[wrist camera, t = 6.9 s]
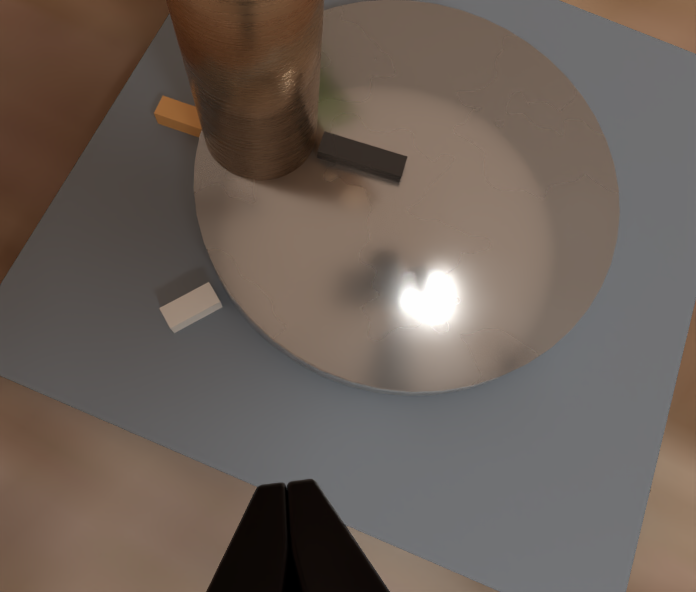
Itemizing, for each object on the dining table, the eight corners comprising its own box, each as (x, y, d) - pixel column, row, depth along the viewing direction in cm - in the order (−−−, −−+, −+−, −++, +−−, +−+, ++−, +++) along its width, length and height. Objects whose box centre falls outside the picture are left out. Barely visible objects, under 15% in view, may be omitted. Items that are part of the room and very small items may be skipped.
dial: (627, 88, 21) (906, -238, 12) (562, 452, 17) (896, 425, 8) (276, -19, 21) (258, -432, 12) (135, 320, 18) (-68, 129, 8)
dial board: (597, 631, 17) (625, 646, 16) (-27, 362, 18) (-57, 352, 17) (730, 91, 23) (761, 64, 22) (254, -96, 24) (251, -135, 22)
